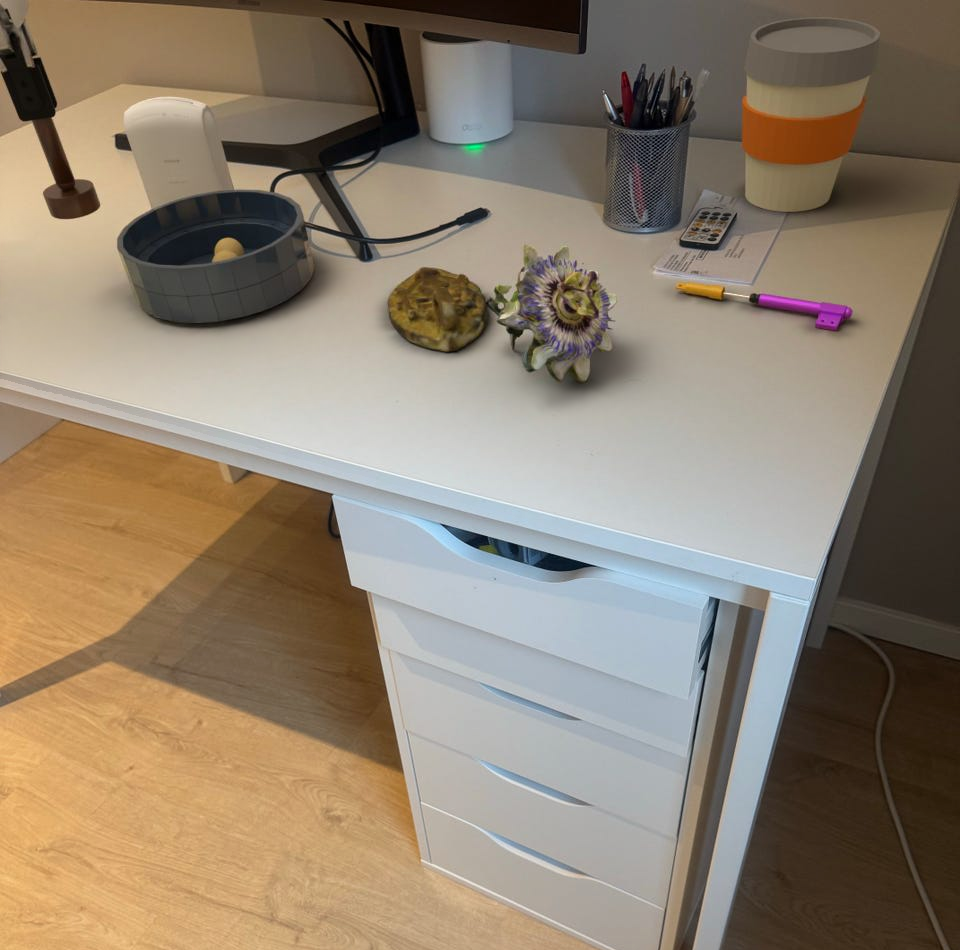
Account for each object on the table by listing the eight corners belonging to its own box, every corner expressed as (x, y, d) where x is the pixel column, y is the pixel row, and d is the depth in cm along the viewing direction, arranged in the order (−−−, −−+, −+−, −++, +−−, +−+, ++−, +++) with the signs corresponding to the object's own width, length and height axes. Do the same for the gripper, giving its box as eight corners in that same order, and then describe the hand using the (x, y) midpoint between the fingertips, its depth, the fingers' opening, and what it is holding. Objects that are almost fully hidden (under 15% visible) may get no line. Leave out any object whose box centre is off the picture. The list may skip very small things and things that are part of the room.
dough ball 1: (204, 247, 93) (216, 261, 92) (224, 226, 93) (237, 240, 91) (221, 266, 96) (234, 280, 94) (242, 246, 95) (255, 259, 94)
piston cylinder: (852, 315, 80) (679, 286, 86) (854, 304, 79) (679, 276, 85) (843, 335, 78) (668, 305, 85) (845, 324, 78) (668, 295, 84)
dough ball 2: (247, 250, 92) (239, 271, 94) (217, 239, 90) (210, 260, 93) (244, 272, 90) (236, 292, 93) (213, 260, 89) (206, 281, 91)
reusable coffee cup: (847, 221, 93) (884, 53, 82) (722, 216, 96) (742, 53, 85) (848, 174, 101) (882, 15, 90) (733, 171, 104) (752, 17, 93)
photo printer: (149, 223, 106) (110, 106, 97) (164, 208, 109) (127, 93, 100) (232, 222, 104) (200, 103, 95) (244, 207, 107) (214, 90, 98)
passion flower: (578, 431, 80) (552, 376, 69) (480, 379, 83) (439, 318, 72) (646, 322, 80) (631, 248, 68) (544, 275, 83) (514, 196, 72)
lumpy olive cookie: (378, 299, 91) (410, 371, 81) (366, 254, 87) (397, 322, 77) (466, 271, 91) (508, 339, 81) (457, 225, 88) (500, 290, 78)
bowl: (139, 343, 86) (116, 282, 82) (137, 264, 98) (117, 208, 94) (326, 307, 88) (314, 245, 84) (302, 234, 101) (290, 177, 96)
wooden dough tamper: (47, 222, 87) (-21, 52, 77) (54, 203, 90) (-11, 38, 80) (98, 215, 88) (36, 45, 77) (102, 197, 91) (44, 31, 81)
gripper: (-96, -155, 74) (5, 96, 88) (-133, -132, 64) (-12, 149, 77) (-2, -166, 75) (84, 83, 89) (-23, -146, 65) (78, 134, 78)
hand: (39, 112), depth 83 cm, fingers closed on wooden dough tamper
